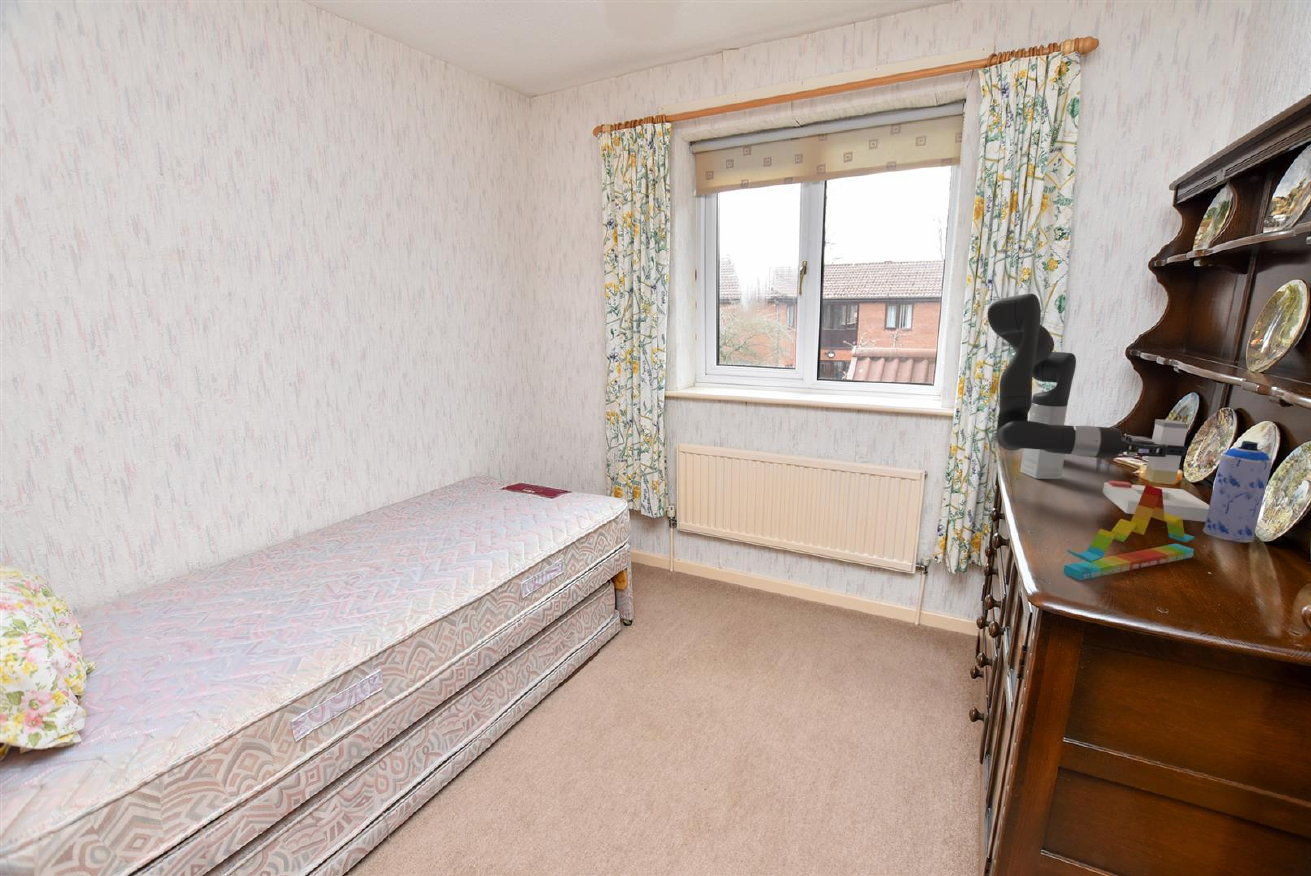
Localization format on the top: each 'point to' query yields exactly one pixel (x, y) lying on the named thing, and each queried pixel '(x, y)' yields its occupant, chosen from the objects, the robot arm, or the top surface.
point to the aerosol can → (1238, 493)
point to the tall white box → (1169, 465)
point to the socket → (1173, 500)
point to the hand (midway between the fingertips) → (1180, 448)
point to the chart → (1119, 563)
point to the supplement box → (1042, 464)
